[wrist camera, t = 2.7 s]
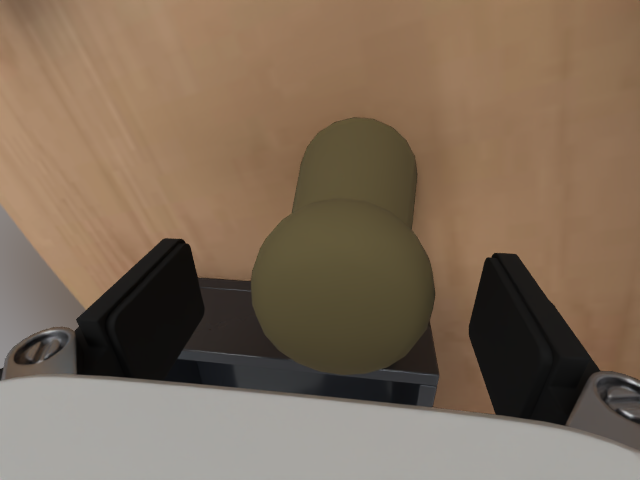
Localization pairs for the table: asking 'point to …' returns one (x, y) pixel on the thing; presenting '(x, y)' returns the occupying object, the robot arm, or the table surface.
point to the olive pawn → (347, 256)
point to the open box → (278, 369)
